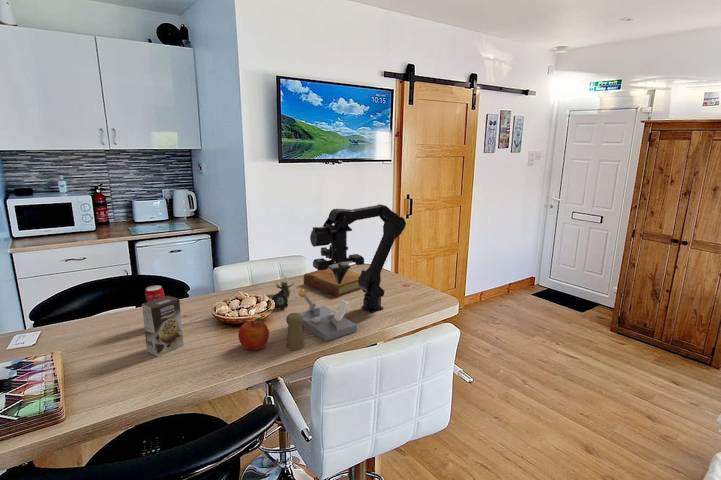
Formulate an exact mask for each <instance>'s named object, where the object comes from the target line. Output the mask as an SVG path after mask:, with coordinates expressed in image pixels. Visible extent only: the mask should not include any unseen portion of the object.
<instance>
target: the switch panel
mask: <svg viewBox="0 0 721 480" xmlns="http://www.w3.org/2000/svg"><path fill="white" fill-rule="evenodd" d="M312 304H313V305H315V306H316V303H315V302H312ZM308 305H309V304H308ZM310 308H311V307H310V305H309V309H308V310H305V311H301V312H298V313H299V314H301V315H302V318H303V321H302V323H301V327H302V326H303V327H304V328H305V329H307V330H308V331H310V332H311V333H312V334H314V335H315V336H317V337H318V338H320V339H321V340H323V341H324V342H325V343H326V342H328V341H333V340H335V339H338V338H340V337H341V338H342V337H343V336H347V335H349V334H352V333H355V332H357V329H358V328H357V326H358V325H357V323H354V322H353V321H351V320H349V319H347V318H346V317H344V316H343V318H342V320H339V321H336V326H335V325H334V324H333V323H332V322H331V321H330V320H331V318H332V317H334V315H335V312H336V311H333V310H332V309H330V308H329V307H327V306H326V305H322V306H316V307H314V312H313V311H312V310H311V309H310Z"/></svg>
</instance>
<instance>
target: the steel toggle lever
mask: <svg viewBox="0 0 721 480" xmlns="http://www.w3.org/2000/svg"><path fill="white" fill-rule="evenodd" d="M297 295H298V296H299V297H300V298H303V299H304V300H305V301H306V303H307V304H308V305H310V307H311V308H310V309H311V310H312V311H313V312H314V307H317V306H316V304H315V305H313V304H312V303H313V302H312V301H311V300H310V298H309V297H308V295H307V291H306V289H304V288H301V289H299V290H298V292H297Z"/></svg>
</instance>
